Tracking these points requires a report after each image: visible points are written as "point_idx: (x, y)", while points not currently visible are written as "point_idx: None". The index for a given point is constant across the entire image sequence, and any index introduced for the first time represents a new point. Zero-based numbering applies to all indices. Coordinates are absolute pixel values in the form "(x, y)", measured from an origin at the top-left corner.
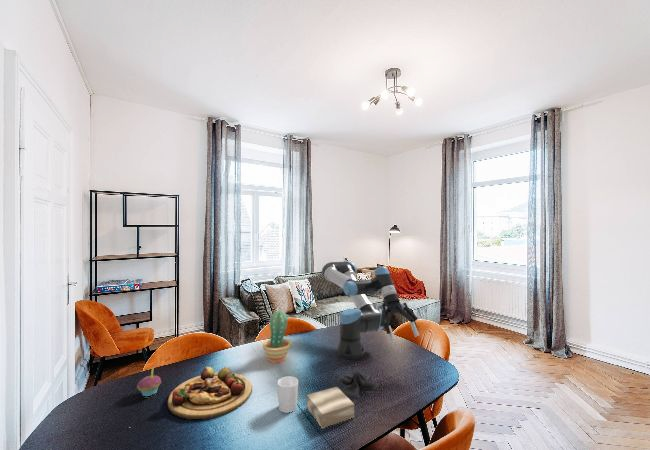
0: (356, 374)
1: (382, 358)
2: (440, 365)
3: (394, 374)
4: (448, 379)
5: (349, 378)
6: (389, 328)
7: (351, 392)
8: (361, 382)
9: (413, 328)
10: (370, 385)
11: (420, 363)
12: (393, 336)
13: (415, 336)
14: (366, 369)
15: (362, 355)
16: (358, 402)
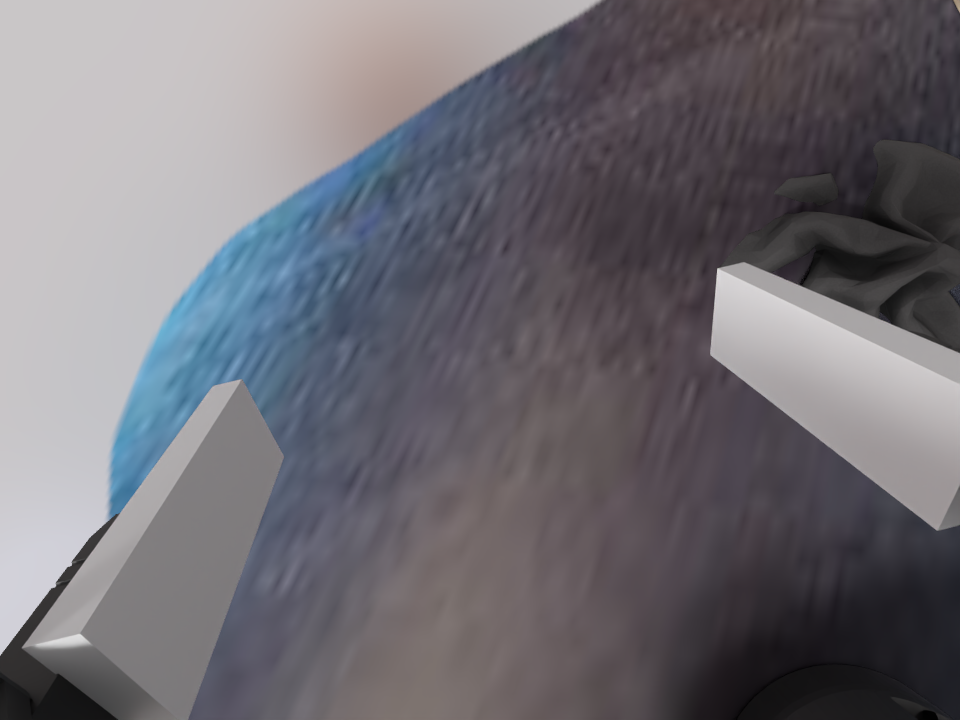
0: (951, 250)
1: (579, 655)
2: None
3: (572, 383)
4: (231, 275)
5: (932, 332)
6: (954, 369)
7: (936, 173)
8: (880, 226)
9: (215, 529)
10: (808, 212)
11: (305, 525)
12: (766, 284)
13: (277, 445)
14: (759, 482)
15: (757, 711)
16: (894, 97)
